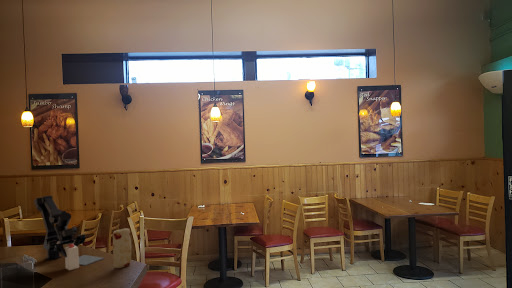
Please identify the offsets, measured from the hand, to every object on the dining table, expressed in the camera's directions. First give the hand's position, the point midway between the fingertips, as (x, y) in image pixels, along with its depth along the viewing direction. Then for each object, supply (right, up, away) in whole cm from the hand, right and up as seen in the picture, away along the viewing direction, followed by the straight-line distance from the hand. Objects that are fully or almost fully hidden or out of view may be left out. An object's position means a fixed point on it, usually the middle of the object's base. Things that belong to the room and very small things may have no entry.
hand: (71, 255), depth 196 cm
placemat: (+2, -6, +12) cm, 13 cm away
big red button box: (0, -7, 0) cm, 7 cm away
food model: (+28, -6, -1) cm, 28 cm away
